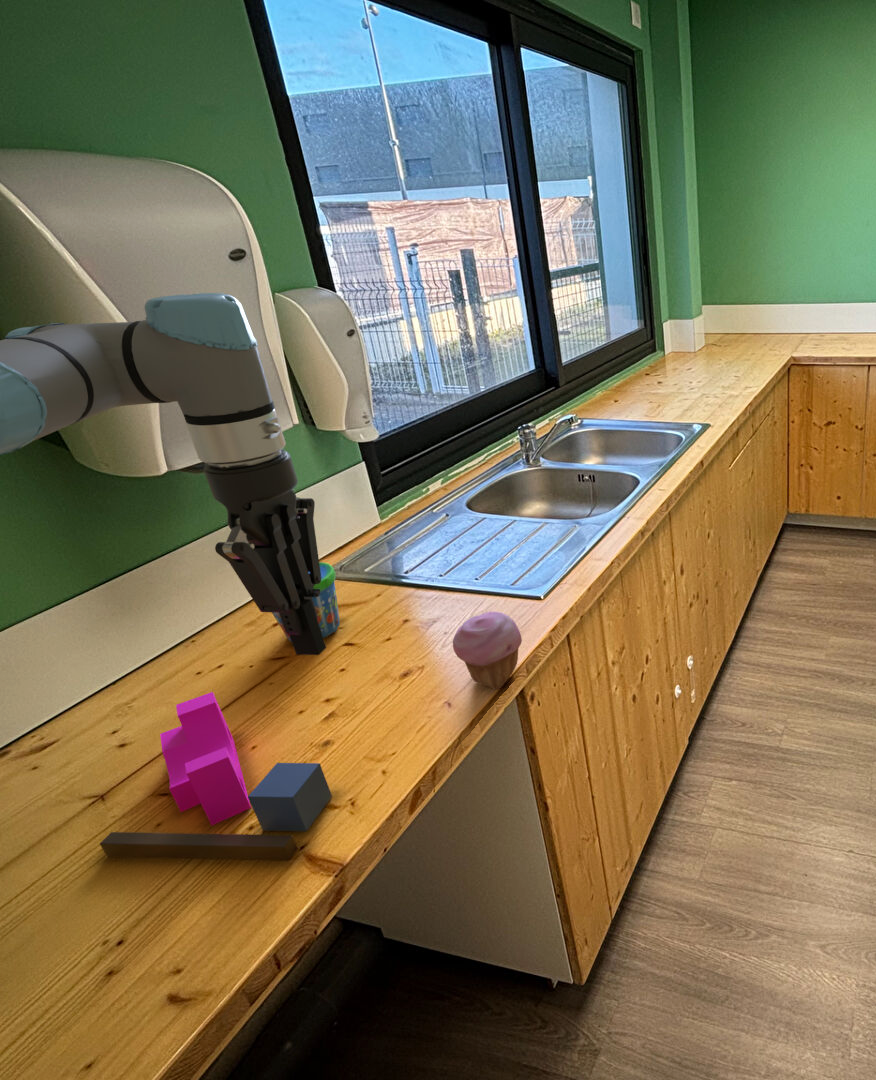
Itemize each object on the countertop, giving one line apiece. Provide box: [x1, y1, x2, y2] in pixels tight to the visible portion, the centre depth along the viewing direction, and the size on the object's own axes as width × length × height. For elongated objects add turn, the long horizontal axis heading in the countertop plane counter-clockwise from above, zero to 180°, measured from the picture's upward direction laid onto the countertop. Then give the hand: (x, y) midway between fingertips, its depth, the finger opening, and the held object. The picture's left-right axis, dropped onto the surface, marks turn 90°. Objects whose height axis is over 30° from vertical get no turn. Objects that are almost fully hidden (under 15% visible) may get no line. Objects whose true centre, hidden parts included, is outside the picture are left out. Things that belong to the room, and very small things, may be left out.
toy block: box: [159, 691, 252, 826], centre depth 81 cm, size 15×6×8 cm, turn 39°
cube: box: [248, 762, 333, 832], centre depth 76 cm, size 5×5×5 cm
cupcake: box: [452, 611, 523, 689], centre depth 97 cm, size 9×9×10 cm
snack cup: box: [271, 561, 340, 643], centre depth 110 cm, size 16×10×10 cm
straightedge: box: [99, 831, 299, 861], centre depth 73 cm, size 20×2×2 cm, turn 87°
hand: (311, 651), depth 81 cm, fingers closed
